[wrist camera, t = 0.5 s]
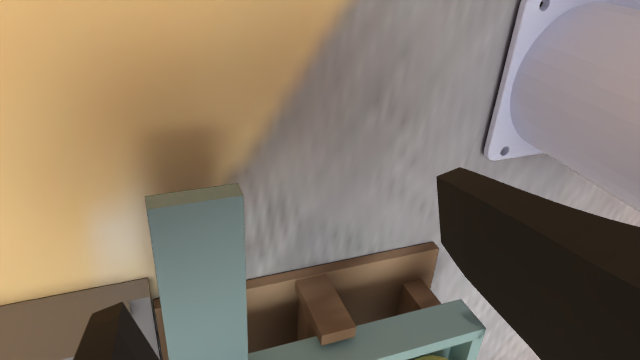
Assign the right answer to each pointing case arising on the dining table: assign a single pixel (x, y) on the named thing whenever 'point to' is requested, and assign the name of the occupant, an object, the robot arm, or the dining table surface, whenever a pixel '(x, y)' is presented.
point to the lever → (230, 294)
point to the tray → (69, 321)
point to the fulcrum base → (333, 297)
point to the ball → (431, 358)
